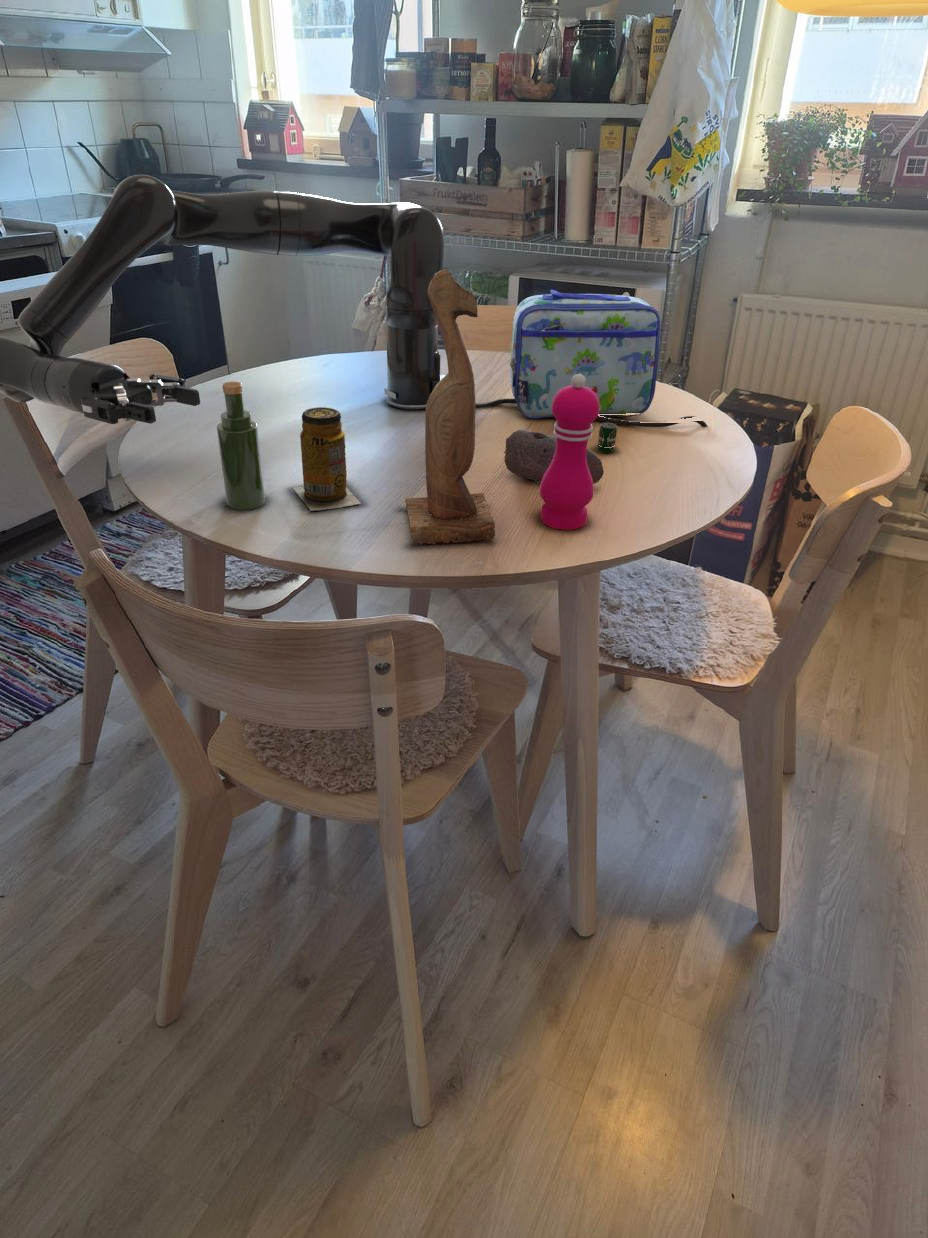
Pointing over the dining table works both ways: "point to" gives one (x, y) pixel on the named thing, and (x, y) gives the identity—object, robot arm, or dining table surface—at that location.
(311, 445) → the condiment
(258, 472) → the oil bottle
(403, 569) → the dining table surface
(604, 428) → the beer can
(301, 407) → the dining table surface
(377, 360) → the dining table surface
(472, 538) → the bird sculpture
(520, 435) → the perforated stone tool
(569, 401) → the pepper mill
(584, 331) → the lunch box
